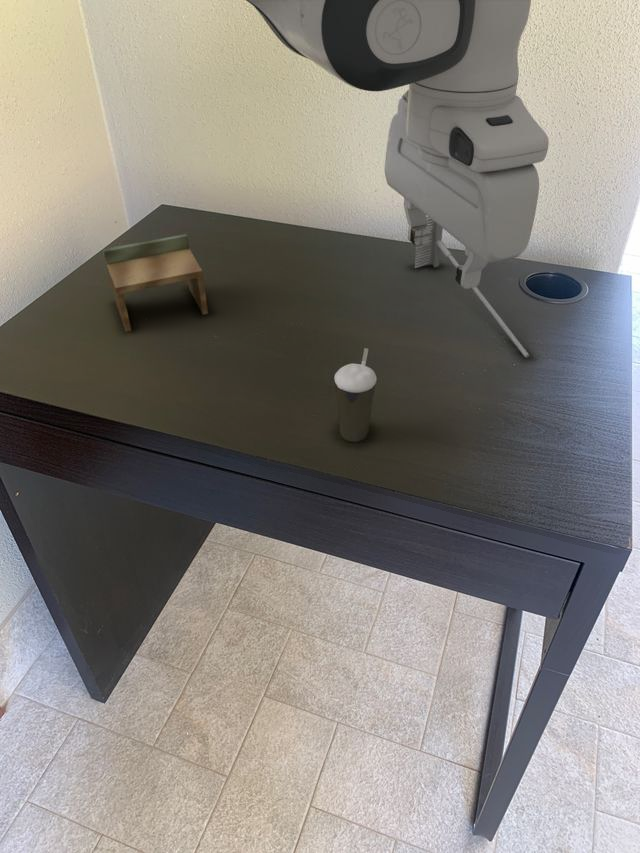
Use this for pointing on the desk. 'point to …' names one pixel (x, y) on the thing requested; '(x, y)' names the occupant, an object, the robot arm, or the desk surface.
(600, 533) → the desk surface
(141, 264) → the bench
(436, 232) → the brush
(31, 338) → the desk surface
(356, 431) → the milkshake
